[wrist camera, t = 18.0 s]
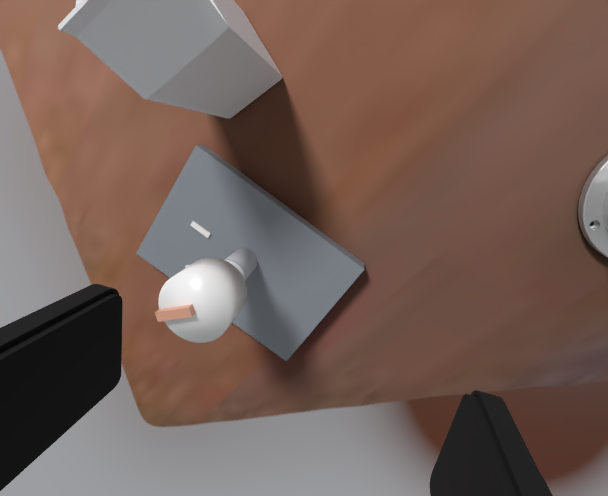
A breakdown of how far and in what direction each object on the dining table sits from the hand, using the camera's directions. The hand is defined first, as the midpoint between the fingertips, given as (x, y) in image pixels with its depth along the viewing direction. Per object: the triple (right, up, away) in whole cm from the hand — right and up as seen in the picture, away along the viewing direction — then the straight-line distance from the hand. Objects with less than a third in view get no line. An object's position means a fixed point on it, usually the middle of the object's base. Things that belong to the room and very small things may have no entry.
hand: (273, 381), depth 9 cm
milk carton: (-6, +22, +26) cm, 35 cm away
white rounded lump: (-7, 0, +22) cm, 23 cm away
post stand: (-6, +3, +31) cm, 32 cm away
